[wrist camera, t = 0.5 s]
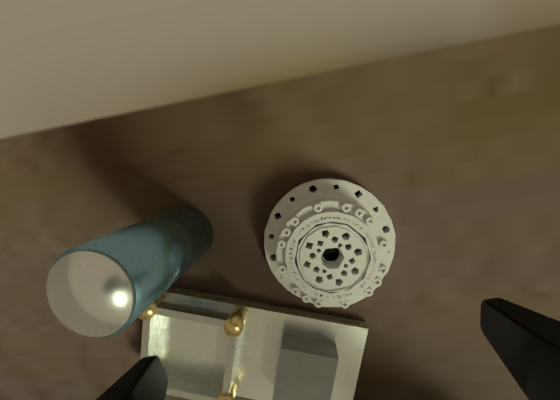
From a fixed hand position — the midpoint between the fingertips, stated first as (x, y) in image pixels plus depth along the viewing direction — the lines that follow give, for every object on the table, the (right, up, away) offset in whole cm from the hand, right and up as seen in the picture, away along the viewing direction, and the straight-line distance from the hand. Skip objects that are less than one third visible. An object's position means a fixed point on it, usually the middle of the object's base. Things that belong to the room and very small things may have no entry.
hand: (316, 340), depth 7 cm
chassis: (-3, -9, +16) cm, 19 cm away
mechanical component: (+3, +1, +15) cm, 15 cm away
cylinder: (-9, +1, +15) cm, 18 cm away
